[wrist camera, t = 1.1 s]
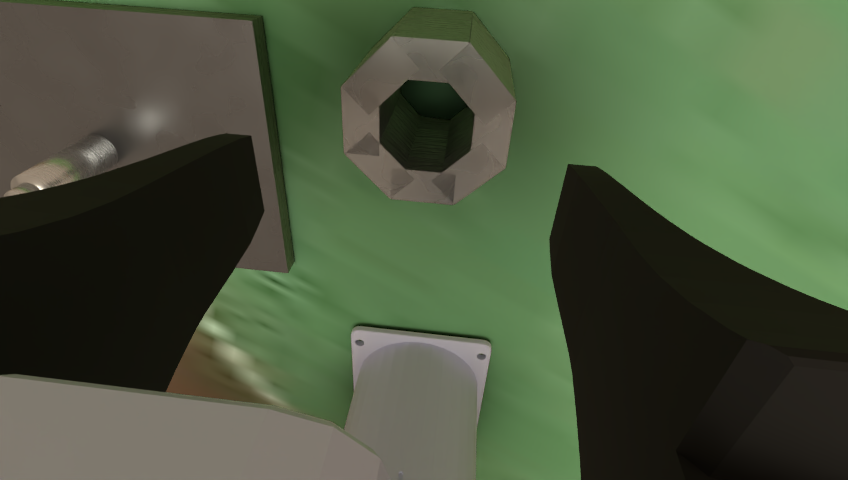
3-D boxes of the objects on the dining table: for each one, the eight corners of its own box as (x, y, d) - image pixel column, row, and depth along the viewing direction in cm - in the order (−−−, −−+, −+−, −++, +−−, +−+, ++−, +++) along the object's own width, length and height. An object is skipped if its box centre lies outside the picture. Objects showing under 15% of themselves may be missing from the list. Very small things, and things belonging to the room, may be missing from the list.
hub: (496, 150, 21) (498, 209, 17) (372, 139, 21) (346, 194, 17) (516, 14, 18) (525, 46, 14) (371, 3, 18) (338, 31, 14)
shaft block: (294, 261, 26) (251, 340, 21) (9, 231, 26) (-93, 300, 22) (262, 15, 19) (188, 51, 14) (-121, -13, 20) (-310, 12, 15)
